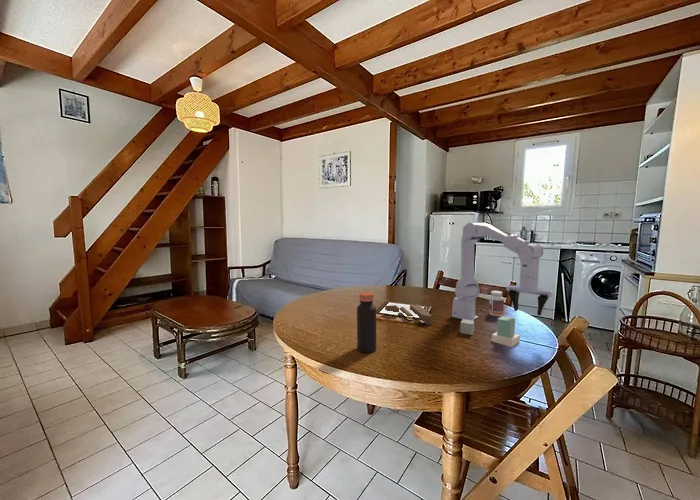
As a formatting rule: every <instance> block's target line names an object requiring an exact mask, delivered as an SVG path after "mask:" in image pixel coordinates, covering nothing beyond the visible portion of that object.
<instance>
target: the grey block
mask: <svg viewBox="0 0 700 500" xmlns="http://www.w3.org/2000/svg"><path fill="white" fill-rule="evenodd" d="M459 327H460V328H459V331H460V334H463V335H471V336H472V335H474V332H475V320H473V321H472V320H466V319H461V321H460V325H459Z"/></svg>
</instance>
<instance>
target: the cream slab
mask: <svg viewBox="0 0 700 500" xmlns="http://www.w3.org/2000/svg"><path fill="white" fill-rule="evenodd" d="M520 341H521V335H520V334H517V333H514V335H513V336H512V337H510V338H508V337H505V336H501V335H497V331H496V332H494V333H492V334H491V342H494V343H496V344H499V345H503V346H506V347H509V348H513V347H514V346H517V344H519V343H520Z"/></svg>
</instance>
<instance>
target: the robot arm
mask: <svg viewBox="0 0 700 500" xmlns="http://www.w3.org/2000/svg"><path fill="white" fill-rule="evenodd" d="M486 237H490V238H492V239H494V240H497V241H499V242H501V243H502V244H503V247H504V248H505V249H507V250H509V251H511V252H513V253H515V254H517V256H518V258H519V260H520V272H519V274H520V275H519V285H512V284H510V285H509V284H508V285H506V288H505V289H506V292H507V291H508V296H509V297H510V300H511V303H512V306H513V311H514V312H517V311H519V298H520V293H523V294H527V295H528V294H529V295H535V296H536V295H537V316H542V311H543V309H544V307H545V304H546V302H547V301H548V300H549V298H552V297H553V290H548V289H543V288H539V270H540V258H541V257H542V256H543V255H544V249H543V246H542V245H540V244H539V243H537V242H536V243H535V242H534V243H531V241H530V240H527V239H523V238H522V237H520V235H519V234H516V233H515V234H513V233H512V234H509V235H508V234H506V233H505V232H504V231H501V230H500V229H498V228H496V227H494V226H493V225H492V224H490V223H487V222H485V221H484V222H468V223H466V224H465V225H464V226H463V227H462V235H461V239H460V241H461V243H460V246H461V247H460V248H461V249H460V251H461V253H460V258H461V259H460V262H461V263H460V264H461V266H460V268H461V269H460V271H461V272H460V273H461V274H460V278H459V279H458V281H456V286H455V289H454V294H455V296H456V297H454V298H453V300H452V306H451V307H452V315H451V317H452V318H456V319H461V320H462V319H466V320H472V321H475V320H476V319H478V318H479V315H476V300H477V297H478V296H479V295H480V287H479V281H478V280H477V279H476V277H475V244H476V243H477V242H479V240H481V239H483V238H486Z"/></svg>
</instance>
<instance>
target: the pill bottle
mask: <svg viewBox="0 0 700 500" xmlns="http://www.w3.org/2000/svg"><path fill="white" fill-rule="evenodd" d="M488 305H489V306H488V314H489V315H490V316H493V317H501V316H504V307H505V306H504V305H505V298H504V297H503V291H501V290H500V291H499V290H491V292H490V296H489V304H488Z"/></svg>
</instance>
